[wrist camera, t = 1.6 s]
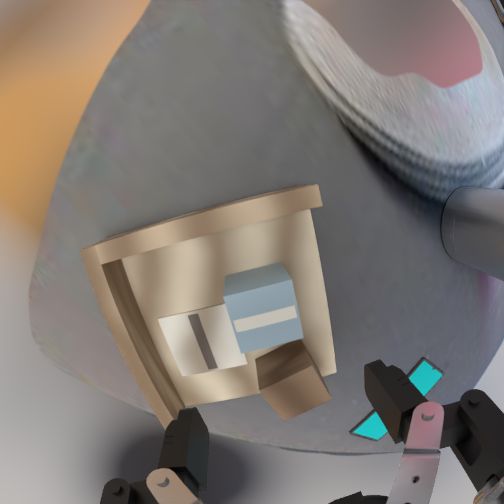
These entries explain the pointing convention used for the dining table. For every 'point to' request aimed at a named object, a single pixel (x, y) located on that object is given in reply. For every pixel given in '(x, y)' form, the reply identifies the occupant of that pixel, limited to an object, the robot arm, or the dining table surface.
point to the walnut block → (291, 380)
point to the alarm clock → (499, 8)
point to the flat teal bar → (424, 380)
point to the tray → (206, 295)
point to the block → (262, 307)
